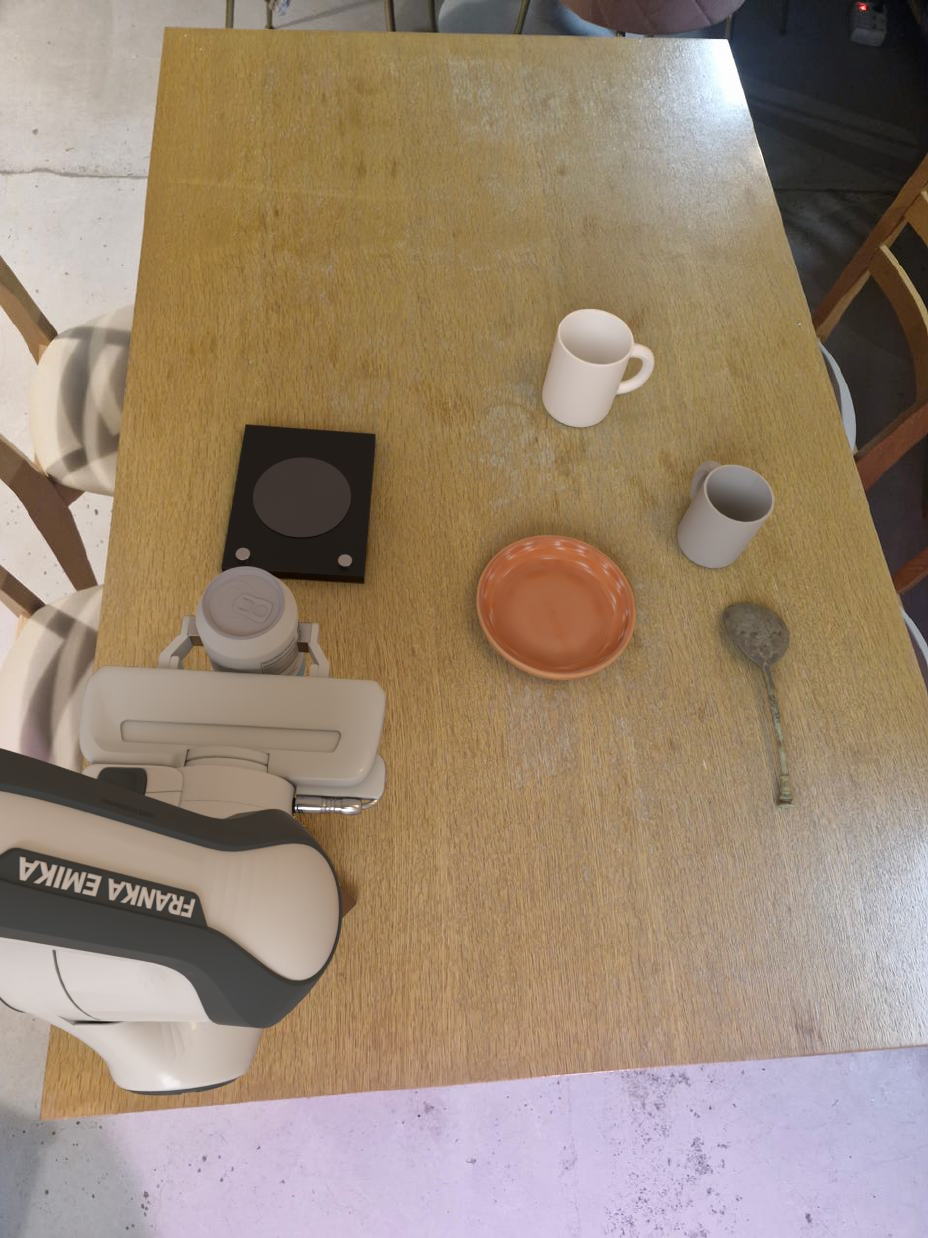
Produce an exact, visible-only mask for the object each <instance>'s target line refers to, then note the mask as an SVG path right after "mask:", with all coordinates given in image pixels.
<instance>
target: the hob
mask: <svg viewBox="0 0 928 1238" xmlns="http://www.w3.org/2000/svg"><path fill="white" fill-rule="evenodd" d="M376 437H377V435H376V433H369V432H357V431H356V432H355V431H343V430H328V429H316V428H303V427H302V428H301V427H289V426H275V425H263V424H247V423H245V426H244V430H243V435H242V443H241V447H240V449H241V450H240V454H239V460H238V465H237V472H236V478H235V483H234V490H233V495H232V501H231V508H230V514H229V520H228V525H227V531H226V538H225V543H224V549H223V555H222V561H221V566H220V568H221V571H222V572H224V571H226V570H229V569H232V568H236V567H243V566H248V567H256V568H260V569H262V570H265V571H267V572H268V573H270V574H271V575H273V576H274V577H276V578H278V579H279V580H295V581H296V580H298V581H314V582H327V583H329V582H330V583H347V584H348V583H349V584H361V585H362V584H363V585H364V584H365V581H366V570H367V558H368V557H367V554H368V546H369V545H368V544H369V543H368V541H369V531H370V517H371V505H372V494H373V493H372V492H373V483H374V482H373V481H374V480H373V479H374V469H375V468H374V466H375V457H376V443H377V442H376V441H377V439H376ZM222 572H221V573H222Z"/></svg>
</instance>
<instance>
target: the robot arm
mask: <svg viewBox="0 0 928 1238" xmlns="http://www.w3.org/2000/svg"><path fill="white" fill-rule="evenodd" d="M195 617H196V614H195V615H193V614H184V615H183V617H182V623H181V628H180V634H177V635H176V636H175V637H174V639H173V640H172V641H171V642H170V643H169V644H168V645H167V646H166V647H165V648H164V649H163V650H162V651H161V652H160V653H159V654H158V659H157V665H156V667H147V666H129V665H116V664H115V665H113V664H104V665H102V666H100V667H98V669H97V670H95V671H94V672H93V673H92V674H91V675H90V676H89V677H88V678H87V681H86V684H85V688H84V692H83V698H82V703H81V711H80V719H79V729H78V743H79V748H80V752H81V754H82V756H83V757H84V758H85V760H86V761H87V762H88V763H89V764H90V765H88V766H86V767H85V768H84V769H83V770H82V772H81V773H80V772H78V771H74V770H72V769H69V768H66V767H63V766H60V765H56V764H53V763H50V762H47V761H44V760H41V759H39V758H35V757H33V756H30V755H25V754H22V753H19V752H15V751H12V750H9V749H5V748H1V747H0V1002H1V1003H3V1005H4V1006H6V1007H7V1008H9V1009H11V1010H13V1011H15V1012H18V1013H23V1014H27V1015H30V1016H33V1017H35V1018H38V1019H39V1020H42V1021H44V1022H46V1023H47V1024H50V1025H52V1026H54V1027H56V1028H59V1029H60V1030H62V1031H64V1032H66V1033H68V1034H69V1035H71V1036H73V1037H75V1038H76V1039H78V1040H79V1041H81V1042H82V1043H84V1044H85V1045H86V1046H88V1047H89V1048H90V1049H92V1050H93V1051H94V1052H95V1053H96V1054H97V1055H99V1056H100V1057H101V1059H103V1061H104V1062H105V1064H106V1066H107V1068H108V1071H109V1075H110V1076H111V1078H112V1081H113V1082H114V1083H115V1084H116V1085H117V1087H119V1088H121V1089H122V1090H124V1091H127V1092H130V1093H132V1094H136V1095H143V1096H158V1097H159V1096H161V1097H162V1096H180V1095H182V1094H190V1093H203V1092H208V1091H212V1090H216V1089H218V1088H219V1089H220V1088H222V1087H224V1086H227V1085H230V1084H231V1083H234V1082H235V1081H236V1080H237V1079H239V1078H241V1077H242V1076H243V1075H245V1074H246V1073H247V1072H248V1071H249V1070H250V1068H251V1066H252V1064H253V1062H254V1059H255V1057H256V1054H257V1051H258V1048H259V1045H260V1042H261V1040H262V1035H263V1032H264V1029H268V1028H271V1027H273V1026H275V1025H277V1024H279V1023H280V1022H281V1021H282V1020H283V1019H284V1018H286V1017H287V1016H288V1015H289V1014H290V1013H291V1012H293V1010H294V1009H295V1008H296V1007H297V1006H298V1005H299V1004H300V1003H301V1002H302V1001H303V1000H304V999H305V998H306V996H308V994H309V993H310V992H311V991H312V990H313V988H314V987H315V986H316V984H317V983H318V982H319V981H320V979H321V977H322V976H323V975H324V973H325V971H326V970H327V968H328V967H329V965H330V963H331V962H332V960H333V957H334V955H335V954H336V951H337V948H338V945H339V940H340V937H341V932H342V925H343V918H342V896H341V889H340V886H341V885H340V881H339V877H338V874H337V871H336V869H335V866H334V864H333V863H332V861H331V859H330V857H329V855H328V854H327V853H326V851H325V850H324V848H323V847H322V845H321V844H320V843H319V842H318V841H317V839H316V838H315V837H314V836H313V834H312V833H311V832H310V831H309V830H308V829H307V828H306V827H305V826H303V824H302V823H300V822H299V821H298V819H296V818H295V817H293V815H294V814H299V815H300V814H301V815H304V814H306V815H307V814H308V815H310V814H311V815H321V814H322V815H324V814H341V815H342V816H359V815H361V814H362V811H364V810H368V809H371V808H373V807H375V806H376V805H377V804H378V803H380V801H382V799H383V797H384V795H385V793H386V789H387V788H386V786H387V770H388V769H387V763H386V760H385V759H384V757H383V756H382V755H381V753H380V749H381V743H382V739H383V733H384V726H385V718H386V709H387V693H386V692H385V690H384V689H383V687H382V686H381V685H380V684H379V682H377V681H376V680H372V679H356V678H342V677H341V678H339V677H332V672H331V664H330V662H329V660H328V658H327V657H326V655H325V653H324V651H323V649H322V647H321V645H320V639H321V625H320V622H305V621H304V622H303V621H299V625H300V627H299V635H298V639H297V646H298V652H304V654H305V653H306V654H309V656H310V658H311V660H312V662H313V663H311V664H310V665H309V670H308V676H306V675H304V676H288V675H271V674H254V673H236V672H219V671H214V670H198V669H185V667H184V665H183V663H182V662H183V660H184V659H186V657H187V655H188V654H189V653H190V652H191V651H192V649H193V648H194V647H204V645H203V643H202V640H201V638H200V635H199V633H198V630H197V627H196V619H195ZM363 801H368V802H365V803H363ZM341 815H340V816H341Z"/></svg>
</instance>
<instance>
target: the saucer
mask: <svg viewBox="0 0 928 1238" xmlns="http://www.w3.org/2000/svg"><path fill="white" fill-rule="evenodd" d="M475 608H476V615H477V619H478V622H479V626H480V629H481V631H482V632H483V635H484V637H485V638H486V640H487V642H488V643H489V644H490V646H491V647H492V648H493V649H494V650H495V652H496V653H497V654H498V655H499V656H501V658H503V659H504V660H505V661H506V662H508V663H509V664H510V665H512V666H514V667H515V668H517V669H519V670H521V671H522V672H525V673H527V674H530V675H532V676H535V677H538V678H542V679H545V680H555V681H570V680H579V679H583V678H587V677H589V676H593V675H595V674H597V673H599V672H602V671H603V670H605V669H606V668H607V667H609V666H610V665H611V664H613V663H614V662H615V661H616V660H617V659H618V658H619V657H620V656H621V655H622V654H623V652H625V650H626V648H627V647H628V645H629V644H630V641H631V639H632V637H633V634H634V631H635V628H636V621H637V605H636V599H635V595H634V593H633V589H632V587H631V585H630V582H629V580H628V579H627V576H626V575H625V574H624V572H623V571H622V569H621V568H620V567H619V566H618V564H616V562H615V561H614V560H612V559H611V557H609V556H608V555H607V554H605V552H603V551H602V550H600V549H598V547H595V546H593V545H591V544H589V543H587V542H585V541H583V540H580V539H576V538H574V537H569V536H565V535H557V534H539V535H533V536H528V537H524V538H521V539H518V540H516V541H514V542H512V543H511V544H507V546H505V547H503V548H502V549H500V550H499V551H498V552H497V553H495V554H494V555H493V557H491V558H490V560H489V561H488V562H487V564H486V565H485V567H484V569H483V571H482V573H481V574H480V577H479V579H478V583H477V587H476V591H475Z"/></svg>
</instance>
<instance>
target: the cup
mask: <svg viewBox="0 0 928 1238" xmlns="http://www.w3.org/2000/svg"><path fill="white" fill-rule="evenodd" d="M689 487H690V488H689V494H690V501H691V503H690V504H689V507H688V508H687V509H686V511H685V513H684V515H683V517H682V519H680V522H679V524H678V526H677V531H676V540H677V543H678V547H679V548H680V550H681V551H682V553H683V555H684V556H685V557H686V558H687V559H688V560H689V561H691V562H693V563H694V564H696V565H698V566H701V567H703V568H708V569H722V568H726V567H728V566H730V565H732V564H733V563H734V562H736V561H737V560H738V559H739V557H740V556H741V554H742V553H743V552H744V551H745V549H746V548H747V546H748V545H749V544H750V543H751V541H752V539H753V538H754V537H755V536H756V534H757V533H758V532H759V530H760V529H761V528H762V526H763V525H764V523H765V522H766V521H767V519H768V518H769V517H770V516H771V513H772V512H773V510H774V507H775V503H776V501H775V494H774V491H773V489H772V486H771V485H770V484H769V482H768V481H767V480H766V479H765V478H764V477H763V476H762V475H761V474H760V473H759V472H757V471H755V470H753V469H752V468H749V467H746V466H744V465H740V464H724V465H722V464H721V463H720V462H719V461H714V460H710V459H708V460H706V461H704V462H702V463H701V464H700V465H699V466H698V467H697V468H696V469H695V471H694V473H693V476H692V477H691V481H690V486H689Z"/></svg>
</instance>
